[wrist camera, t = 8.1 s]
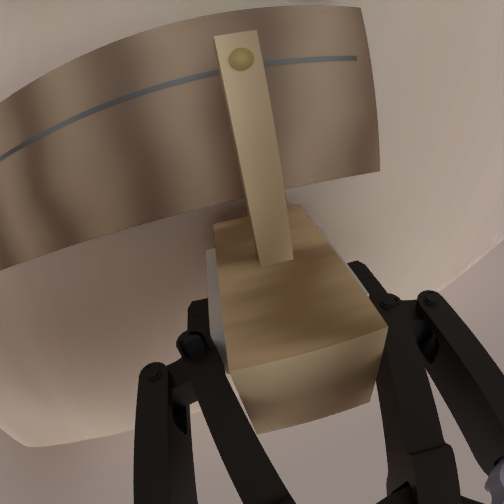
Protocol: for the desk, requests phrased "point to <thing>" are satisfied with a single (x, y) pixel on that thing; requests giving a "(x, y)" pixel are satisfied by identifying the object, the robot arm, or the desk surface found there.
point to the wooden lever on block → (284, 277)
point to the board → (178, 125)
